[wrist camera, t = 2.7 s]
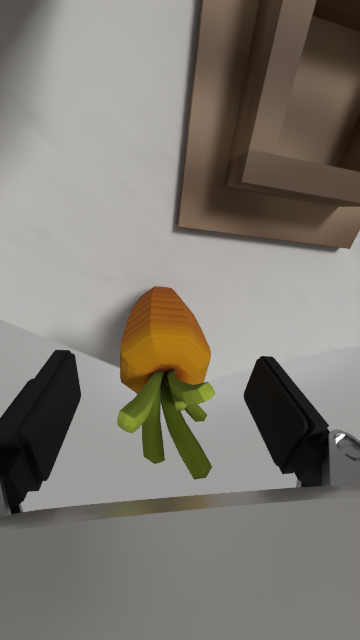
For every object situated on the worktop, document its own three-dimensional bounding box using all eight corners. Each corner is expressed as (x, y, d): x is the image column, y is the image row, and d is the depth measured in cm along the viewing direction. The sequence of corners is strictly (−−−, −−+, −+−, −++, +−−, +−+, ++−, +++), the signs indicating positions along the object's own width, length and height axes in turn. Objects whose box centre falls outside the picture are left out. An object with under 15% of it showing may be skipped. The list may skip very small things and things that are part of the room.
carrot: (125, 274, 18) (52, 449, 5) (178, 259, 18) (243, 398, 5) (143, 320, 20) (126, 514, 7) (189, 307, 20) (253, 481, 7)
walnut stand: (219, -172, 9) (272, -478, 5) (484, -45, 11) (658, -177, 7) (177, 225, 16) (184, 231, 12) (341, 246, 19) (389, 257, 15)
